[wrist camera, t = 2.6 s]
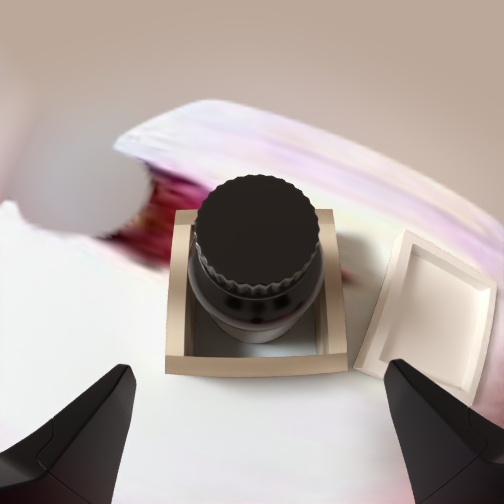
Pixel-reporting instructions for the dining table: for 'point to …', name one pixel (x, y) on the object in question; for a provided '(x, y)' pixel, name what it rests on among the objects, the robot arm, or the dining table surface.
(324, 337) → the frame
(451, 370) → the dock
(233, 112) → the dining table surface
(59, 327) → the dining table surface
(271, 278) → the supplement bottle
